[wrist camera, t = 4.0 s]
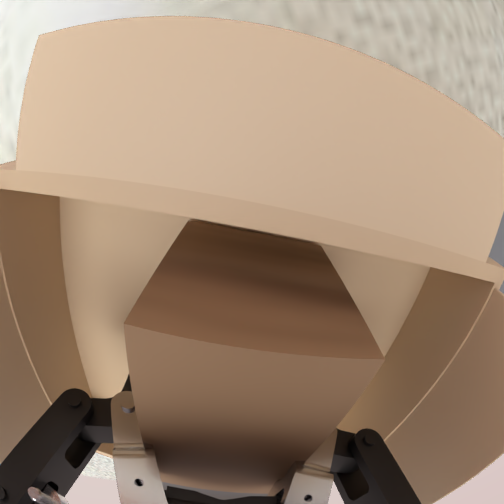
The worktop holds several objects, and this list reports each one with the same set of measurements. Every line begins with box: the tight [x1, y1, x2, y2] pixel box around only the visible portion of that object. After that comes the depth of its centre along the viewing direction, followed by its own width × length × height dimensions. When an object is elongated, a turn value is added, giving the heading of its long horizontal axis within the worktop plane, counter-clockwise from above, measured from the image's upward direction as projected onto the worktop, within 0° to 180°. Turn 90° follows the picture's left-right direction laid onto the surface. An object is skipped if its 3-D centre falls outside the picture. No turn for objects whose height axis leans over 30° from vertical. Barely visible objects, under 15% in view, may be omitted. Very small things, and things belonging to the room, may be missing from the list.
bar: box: [124, 220, 385, 500], centre depth 10 cm, size 12×5×6 cm, turn 168°
